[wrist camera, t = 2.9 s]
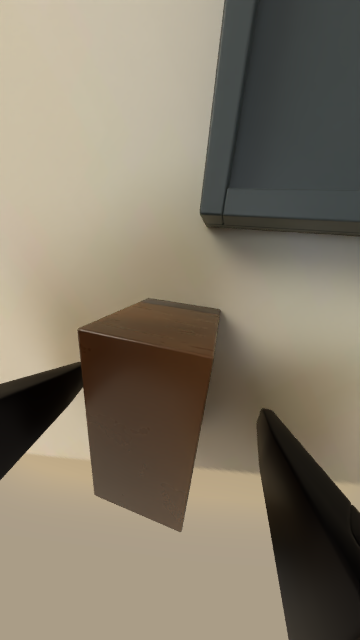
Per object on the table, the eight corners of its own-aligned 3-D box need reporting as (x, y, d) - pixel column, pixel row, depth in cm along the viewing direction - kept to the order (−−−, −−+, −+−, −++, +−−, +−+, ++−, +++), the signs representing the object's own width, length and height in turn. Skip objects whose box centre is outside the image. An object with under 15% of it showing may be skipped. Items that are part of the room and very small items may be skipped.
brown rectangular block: (220, 309, 9) (214, 357, 4) (199, 425, 11) (181, 533, 7) (147, 297, 10) (75, 328, 5) (143, 408, 12) (93, 495, 8)
